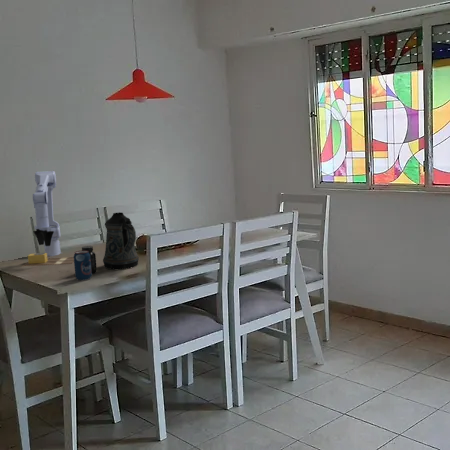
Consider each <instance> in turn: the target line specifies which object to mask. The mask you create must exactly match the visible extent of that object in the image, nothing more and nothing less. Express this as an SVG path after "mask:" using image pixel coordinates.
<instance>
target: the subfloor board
mask: <svg viewBox="0 0 450 450" xmlns="http://www.w3.org/2000/svg"><path fill="white" fill-rule="evenodd" d="M47 259H48V261H47V262H46V263H34V264H29V262H28V261H26V262H25V263H24V264H23V265H21V267H35V266H37V267H38V266H39V267H41V266H56V265H57V266H59V265H72V264H74V256H71V257H70V256H67V257H51V258H49V257H47Z"/></svg>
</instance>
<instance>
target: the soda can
mask: <svg viewBox="0 0 450 450" xmlns="http://www.w3.org/2000/svg"><path fill="white" fill-rule="evenodd" d="M73 257H74V262H73V265H74V275H75V276H74V277H75V278H76V280H77V281H88V280H90V279H91V278H92V275H93V274H92V271H91V260H90V254H89V252H88V251H87V250H82V249H81V250H77V251H75V252H74V255H73Z"/></svg>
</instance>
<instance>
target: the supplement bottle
mask: <svg viewBox="0 0 450 450" xmlns="http://www.w3.org/2000/svg"><path fill="white" fill-rule="evenodd" d="M82 250H87V251H88V252H89V254H90V260H91V271H92V275H93V274H96V273H97V271H98V268H97V258H96V257H97V256H96V255H97V254H96V253H95V252H94V248H93V246H92V245H85V246H82V247H81V251H82Z"/></svg>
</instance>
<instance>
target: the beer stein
mask: <svg viewBox="0 0 450 450" xmlns="http://www.w3.org/2000/svg"><path fill="white" fill-rule="evenodd" d="M132 223H133V222H132V221H131V219H130V218H129V217H128V216H126V215H125V214H124V213H123V212H114V213H113V214H112V215H111V217H110V218H108V219H107V220H106V221H105V222H104V228H105V229H106V236H105V237H106V238H105V251H104V255H103V259H102V262H103V266H104V268H105V269H106V270H111V271H112V270H115V269H118V270H126V268H127V269H132V268H135V267H137V266H138V265H139V261H140V260H139V257H140V256H139V255H138V253H137V251H136V247H135V242H136V238H137V233H136V229H135V227H134V226H133V224H132ZM131 267H132V268H131ZM115 271H116V270H115Z"/></svg>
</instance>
